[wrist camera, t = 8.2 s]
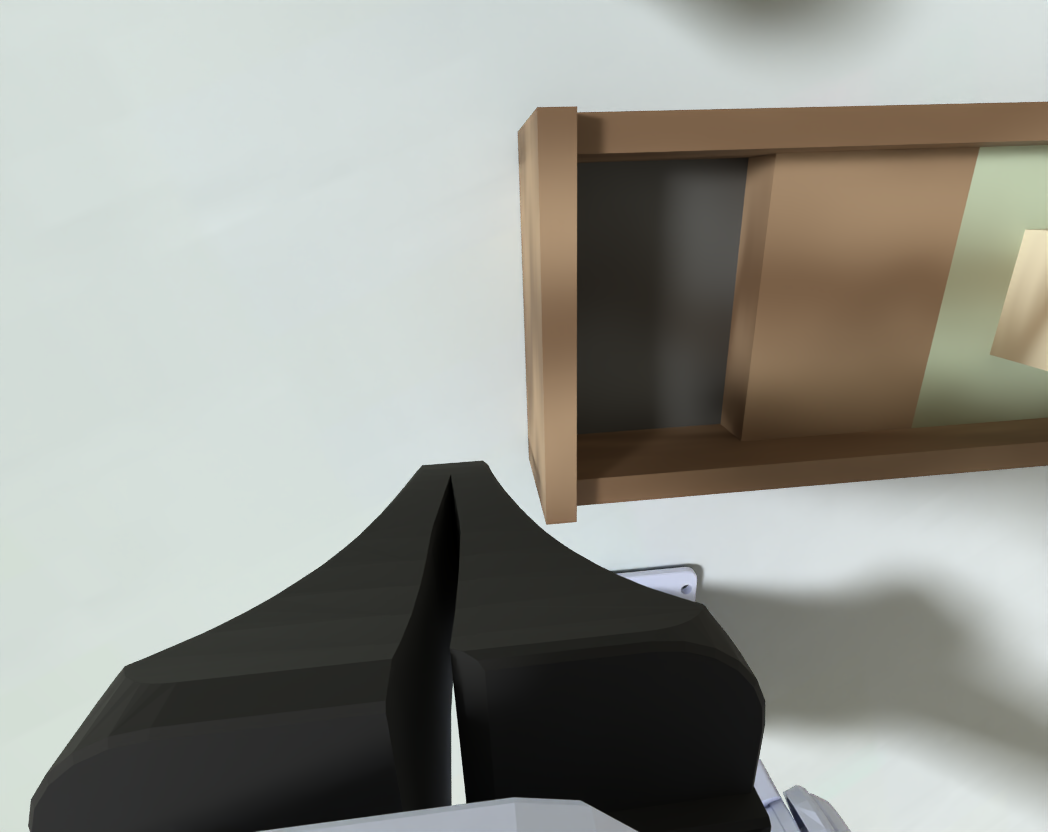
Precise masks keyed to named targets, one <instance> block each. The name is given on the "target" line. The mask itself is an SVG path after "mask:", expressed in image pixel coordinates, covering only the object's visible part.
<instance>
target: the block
mask: <svg viewBox="0 0 1048 832" xmlns="http://www.w3.org/2000/svg"><path fill="white" fill-rule="evenodd" d="M990 355H993V356H996V357H1000V358H1003V359H1007V360H1010V361H1014V362H1017V363H1021V364H1024V365H1028V366H1031V367H1035V368H1038V369H1042V370H1045V371H1048V229H1026V230H1025V232H1024V236H1023V239H1022V243H1021V246H1020V250H1019V253H1018V257H1017V260H1016V264H1015V267H1014V271H1013V274H1012V278H1011V281H1010V285H1009V288H1008V292H1007V295H1006V299H1005V302H1004V306H1003V309H1002V313H1001V316H1000V320H999V323H998V327H997V330H996V334H995V337H994V341H993V344H992V348H991V351H990Z"/></svg>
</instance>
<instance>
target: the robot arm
mask: <svg viewBox="0 0 1048 832" xmlns="http://www.w3.org/2000/svg"><path fill="white" fill-rule="evenodd" d="M685 585H688V586H687V587H686V588H683V589H681V588H682V587H683V586H685ZM696 588H697V575H696V573H695V572H694V570H693V569H692V568H690V567H679V568H669V569H658V570H648V571H638V572H628V573H617V574H615V573H613V572H611V571H609V570H607V569H605V568H603V567H601V566H599V565H597V564H595V563H593V562H591V561H590V560H588V559H586V558H584V557H583V556H581V555H579V554H577V553H575V552H574V551H572V550H571V549H569V548H568V547H566V546H564V545H563V544H561V543H560V542H559V541H557V540H556V539H555V538H553V537H552V536H550V535H549V534H548V533H546V532H545V531H544V530H543V529H542V528H541V527H539V526H538V525H537V524H536V523H535V522H534V521H533V520H532V519H531V518H530V517H529V516H528V515H527V514H526V513H525V512H524V511H523V510H522V509H521V508H520V507H519V506H518V505H517V504H516V503H515V502H514V500H513V499H512V498H511V497H510V496H509V495H508V494H507V492H506V491H505V490H504V489H503V487H502V486H501V485H500V483H499V482H498V481H497V479H496V478H495V476H494V475H493V473H492V472H491V470H490V468H489V466H488V465H487V464H486V463H485V462H484V461H472V462H460V463H447V464H434V465H422V466H421V468H420V469H419V470H418V471H417V472H416V473H415V474H414V476H413V477H412V478H411V479H410V481H409V482H408V483H407V484H406V486H405V487H404V488H403V489H402V490H401V492H400V493H399V494H398V495H397V496H396V498H395V499H394V500H393V501H392V502H391V503H390V504H389V505H388V507H387V508H386V509H385V510H384V511H383V512H382V513H381V514H380V515H379V516H378V517H377V518H376V519H375V520H374V521H373V522H372V523H371V524H370V525H369V526H368V527H367V528H366V529H365V530H364V531H363V532H362V533H361V534H360V535H359V536H358V537H357V538H356V539H354V540H353V541H352V542H351V543H350V544H349V545H347V546H346V547H345V548H344V549H343V550H341V551H340V552H339V553H337V554H336V555H335V556H334V557H332V558H331V559H330V560H328V561H327V562H326V563H324V564H323V565H322V566H320V567H319V568H318V569H316V570H314V571H313V572H311V573H310V574H308V575H307V576H305V577H304V578H302V579H301V580H299V581H297V582H296V583H294V584H293V585H291V586H290V587H288V588H287V589H285V590H284V591H282V592H280V593H279V594H277V595H276V596H274V597H272V598H270V599H269V600H267V601H265V602H263V603H261V604H260V605H258V606H256V607H254V608H252V609H251V610H249V611H247V612H245V613H243V614H241V615H239V616H237V617H235V618H233V619H231V620H229V621H227V622H225V623H223V624H221V625H219V626H217V627H215V628H213V629H211V630H209V631H207V632H205V633H203V634H200V635H198V636H196V637H193V638H191V639H189V640H186V641H184V642H182V643H179V644H177V645H175V646H172V647H170V648H168V649H165V650H163V651H161V652H158V653H156V654H154V655H151V656H149V657H147V658H144V659H142V660H139V661H137V662H134V663H132V664H129V665H127V666H125V667H124V668H123V669H122V671H121V672H120V673H119V674H118V676H117V677H116V678H115V680H114V681H113V682H112V684H111V685H110V686H109V688H108V689H107V690H106V692H105V693H104V694H103V696H102V697H101V698H100V700H99V701H98V702H97V704H96V705H95V707H94V708H93V709H92V711H91V712H90V714H89V715H88V716H87V718H86V719H85V721H84V722H83V723H82V725H81V726H80V728H79V729H78V730H77V732H76V733H75V735H74V736H73V737H72V739H71V740H70V742H69V743H68V744H67V746H66V747H65V749H64V750H63V751H62V753H61V754H60V756H59V757H58V758H57V760H56V761H55V763H54V764H53V765H52V767H51V768H50V770H49V771H48V772H47V774H46V775H45V777H44V779H43V780H42V782H41V784H40V785H39V787H38V789H37V790H36V792H35V794H34V796H33V797H32V799H31V805H30V814H29V824H28V827H29V830H30V832H851V831H850V830H849V828H848V827H847V825H846V824H845V822H844V821H843V820H842V818H841V817H840V815H839V814H838V813H837V811H836V810H835V809H834V808H833V806H832V805H831V804H830V803H829V802H828V801H826V800H824V799H822V798H820V797H818V796H816V795H814V794H811V793H810V794H809V793H808V791H807V790H806V789H805V788H803V787H801V786H799V785H795V786H794V787H792V788H790V789H788V790H786V791H785V792H783V794H784V796H785V799H786V802H787V804H788V807H789V809H790V811H791V813H792V815H793V817H792V815H791V814H790V812H789V810H788V809H787V807H786V806H785V804H784V802H783V800H782V799H781V796H780V794H779V793H778V791H777V789H776V787H775V785H774V783H773V781H772V780H771V778H770V776H769V774H768V772H767V770H766V768H765V767H764V765H763V763H762V761H761V760H760V759H759V755H760V749H761V744H762V738H763V733H764V727H765V699H764V697H763V694H762V691H761V689H760V686H759V684H758V681H757V679H756V677H755V676H754V674H753V672H752V671H751V669H750V668H749V666H748V664H747V663H746V661H745V660H744V658H743V656H742V655H741V653H740V652H739V650H738V649H737V647H736V646H735V645H734V643H733V642H732V640H731V639H730V638H729V636H728V635H727V633H726V632H725V631H724V630H723V628H722V627H721V626H720V625H719V624H718V622H717V621H716V620H715V619H714V618H713V616H712V615H711V614H710V612H709V611H708V610H707V608H706V607H705V606H704V605H703V604H700V603H697V602H695V598H696ZM453 684H454V693H455V702H456V711H457V720H458V729H459V739H460V748H461V757H462V766H463V775H464V784H465V794H466V804H460V805H453V806H451V705H452V687H453ZM793 818H794V819H793Z"/></svg>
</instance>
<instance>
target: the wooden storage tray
mask: <svg viewBox="0 0 1048 832" xmlns="http://www.w3.org/2000/svg"><path fill="white" fill-rule="evenodd" d="M518 152H519V181H520V210H521V240H522V269H523V298H524V328H525V357H526V386H527V415H528V445H529V460H530V464H531V468H532V472H533V476H534V479H535V483H536V487H537V491H538V494H539V498H540V502H541V506H542V510H543V513H544V517H545V521H546V525H547V524H559V523H570V522H577V506H580V505H591V504H603V503H615V502H626V501H638V500H650V499H661V498H673V497H685V496H696V495H708V494H720V493H731V492H743V491H755V490H766V489H778V488H790V487H801V486H813V485H825V484H836V483H848V482H860V481H871V480H883V479H895V478H906V477H918V476H930V475H941V474H953V473H965V472H976V471H988V470H999V469H1011V468H1023V467H1034V466H1046V465H1048V371H1045V370H1042V369H1038V368H1035V367H1031V366H1028V365H1024V364H1021V363H1017V362H1014V361H1010V360H1007V359H1003V358H1000V357H996V356H993V355H990V351H991V348H992V344H993V341H994V337H995V334H996V330H997V327H998V323H999V320H1000V316H1001V313H1002V309H1003V306H1004V302H1005V299H1006V295H1007V292H1008V288H1009V285H1010V281H1011V278H1012V274H1013V271H1014V267H1015V264H1016V260H1017V257H1018V253H1019V250H1020V246H1021V243H1022V239H1023V236H1024V232H1025V230H1026V229H1048V102H1018V103H974V104H930V105H886V106H843V107H799V108H755V109H712V110H668V111H624V112H580V113H577V107H537V108H536V110H535V111H534V112H533V113H532V115H531V116H530V117H529V118H528V120H527V121H526V122H525V123H524V125H523V126H522V127H521V129H520V130H519V131H518Z"/></svg>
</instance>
